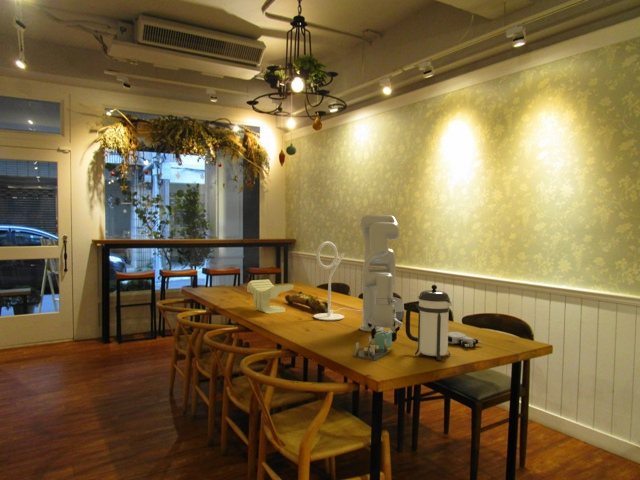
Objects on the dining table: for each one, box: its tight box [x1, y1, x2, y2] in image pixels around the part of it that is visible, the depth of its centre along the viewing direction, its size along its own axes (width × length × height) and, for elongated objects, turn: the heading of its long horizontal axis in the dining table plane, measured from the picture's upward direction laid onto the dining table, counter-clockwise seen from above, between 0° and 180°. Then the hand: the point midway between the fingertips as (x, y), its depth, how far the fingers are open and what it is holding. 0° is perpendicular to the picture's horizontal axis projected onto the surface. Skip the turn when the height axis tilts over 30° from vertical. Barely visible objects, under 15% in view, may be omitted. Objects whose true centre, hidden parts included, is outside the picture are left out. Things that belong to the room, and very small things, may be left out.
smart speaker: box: [393, 296, 405, 322], centre depth 256 cm, size 10×9×14 cm
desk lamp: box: [313, 240, 362, 322], centre depth 264 cm, size 37×18×45 cm, turn 130°
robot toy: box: [448, 331, 483, 348], centre depth 204 cm, size 12×4×15 cm
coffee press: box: [405, 284, 453, 362], centre depth 185 cm, size 17×16×30 cm
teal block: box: [373, 330, 393, 349], centre depth 199 cm, size 10×4×6 cm, turn 150°
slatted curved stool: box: [246, 279, 295, 314], centre depth 277 cm, size 30×16×18 cm, turn 37°
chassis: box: [352, 335, 390, 362], centre depth 186 cm, size 15×10×6 cm, turn 149°
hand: (383, 339), depth 199 cm, fingers open, 9 cm apart
